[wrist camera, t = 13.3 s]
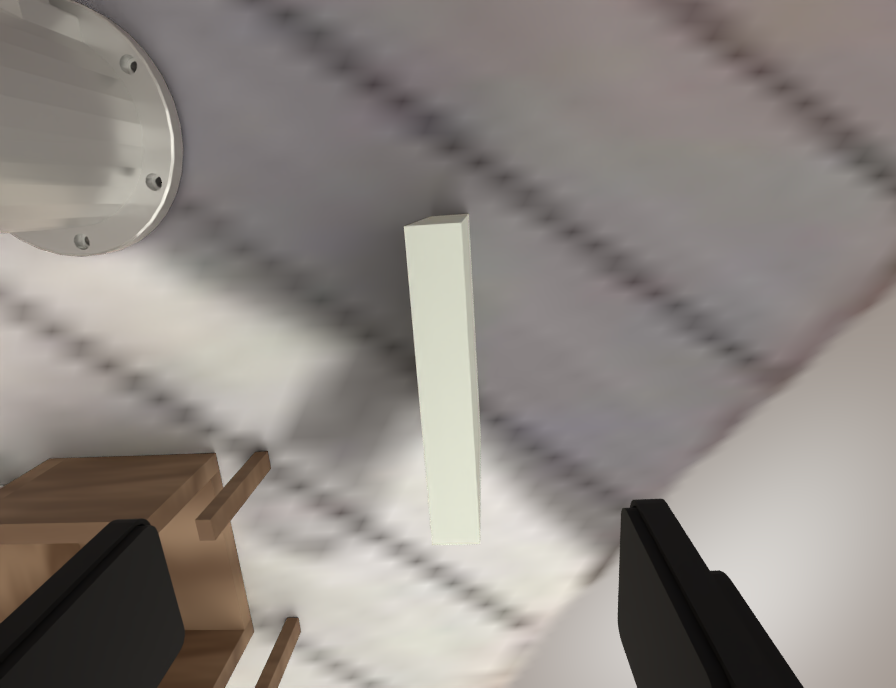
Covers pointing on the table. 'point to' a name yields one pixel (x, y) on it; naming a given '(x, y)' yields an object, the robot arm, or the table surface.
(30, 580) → the box
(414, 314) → the cover plate
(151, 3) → the table surface
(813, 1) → the table surface
